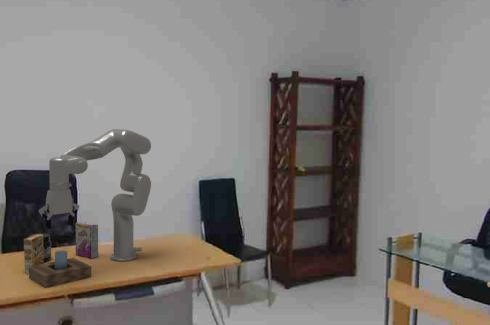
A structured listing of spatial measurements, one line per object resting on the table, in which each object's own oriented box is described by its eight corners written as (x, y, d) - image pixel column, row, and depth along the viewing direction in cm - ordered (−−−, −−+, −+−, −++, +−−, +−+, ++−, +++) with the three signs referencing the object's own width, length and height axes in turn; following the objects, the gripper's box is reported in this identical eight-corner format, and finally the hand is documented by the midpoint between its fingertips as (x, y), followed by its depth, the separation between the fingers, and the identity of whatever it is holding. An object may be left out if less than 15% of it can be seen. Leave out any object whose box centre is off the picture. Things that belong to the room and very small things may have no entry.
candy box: (32, 273, 215) (32, 239, 213) (23, 273, 216) (23, 238, 214) (44, 267, 224) (43, 234, 222) (35, 266, 224) (35, 234, 223)
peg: (64, 272, 214) (64, 250, 214) (68, 275, 210) (69, 252, 210) (52, 274, 211) (53, 251, 211) (56, 277, 207) (57, 253, 207)
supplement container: (26, 258, 237) (26, 234, 235) (50, 256, 241) (49, 232, 240) (28, 264, 227) (27, 239, 226) (52, 262, 232) (52, 237, 231)
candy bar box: (74, 255, 244) (74, 222, 242) (82, 253, 248) (82, 221, 246) (90, 259, 238) (90, 225, 237) (98, 256, 242) (98, 224, 241)
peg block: (73, 268, 223) (73, 257, 223) (91, 277, 212) (91, 265, 212) (28, 278, 209) (28, 266, 209) (45, 288, 198) (45, 275, 198)
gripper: (74, 184, 216) (74, 222, 217) (34, 187, 203) (35, 228, 205) (82, 186, 211) (83, 225, 212) (42, 190, 198) (43, 231, 200)
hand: (59, 226), depth 209 cm, fingers open, 9 cm apart
